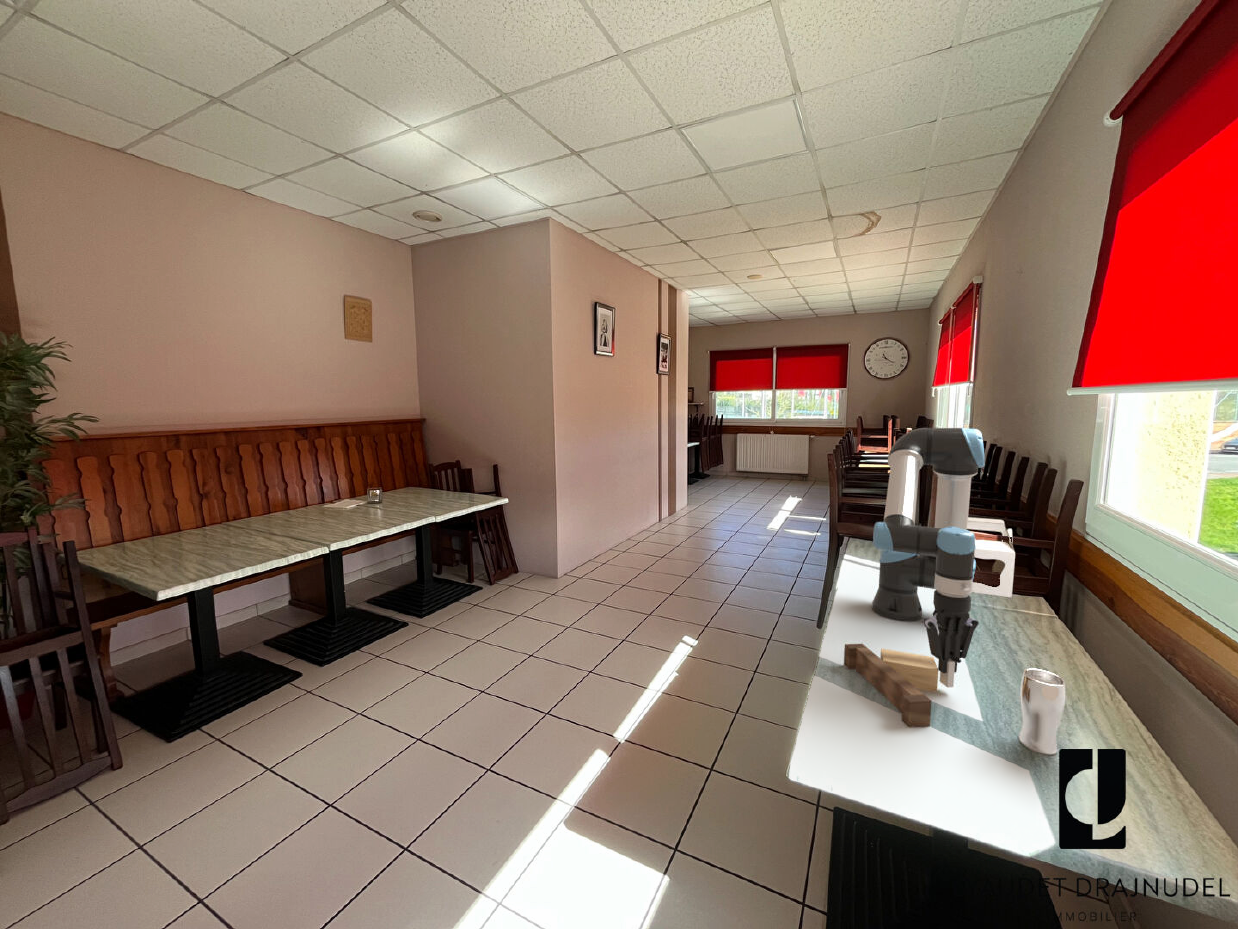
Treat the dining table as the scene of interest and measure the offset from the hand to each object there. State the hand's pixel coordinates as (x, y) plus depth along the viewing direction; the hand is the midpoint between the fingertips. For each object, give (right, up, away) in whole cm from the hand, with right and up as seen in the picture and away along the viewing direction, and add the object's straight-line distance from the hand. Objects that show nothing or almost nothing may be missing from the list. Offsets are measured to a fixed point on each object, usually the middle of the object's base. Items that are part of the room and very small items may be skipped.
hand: (946, 684), depth 121 cm
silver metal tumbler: (+6, -4, -19) cm, 21 cm away
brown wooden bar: (-15, -2, 0) cm, 15 cm away
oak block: (-6, -2, +6) cm, 9 cm away
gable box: (+59, +6, +71) cm, 92 cm away
